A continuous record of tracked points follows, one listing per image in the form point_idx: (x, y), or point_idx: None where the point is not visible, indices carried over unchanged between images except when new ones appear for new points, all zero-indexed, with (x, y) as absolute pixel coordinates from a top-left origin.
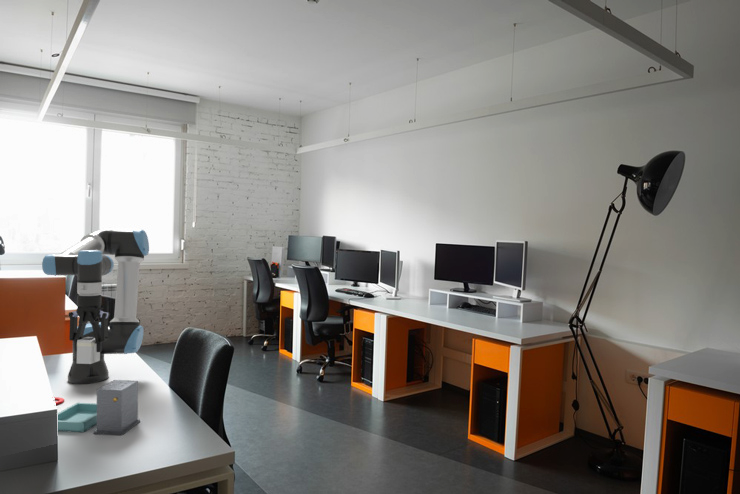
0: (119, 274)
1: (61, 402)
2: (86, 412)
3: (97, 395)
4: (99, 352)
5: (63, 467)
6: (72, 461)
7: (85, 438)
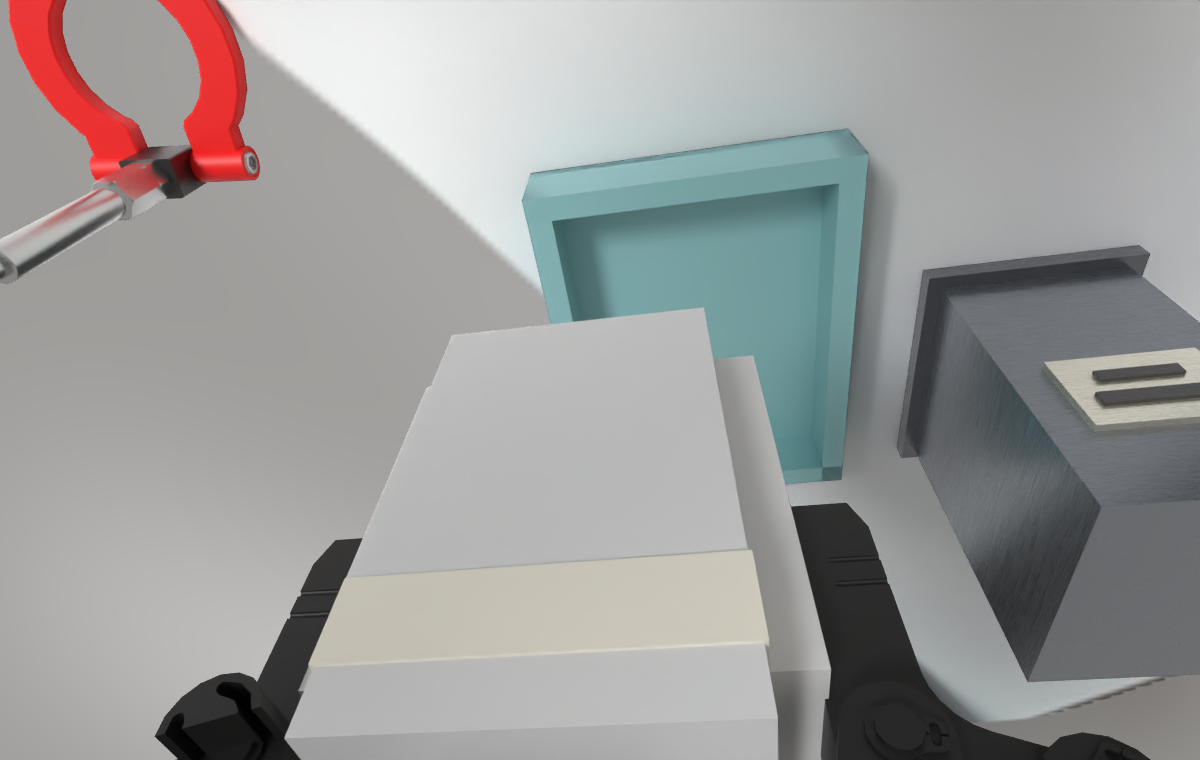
0: None
1: (234, 42)
2: (647, 211)
3: (1010, 634)
4: (779, 471)
5: (934, 657)
6: (944, 629)
7: (881, 489)
